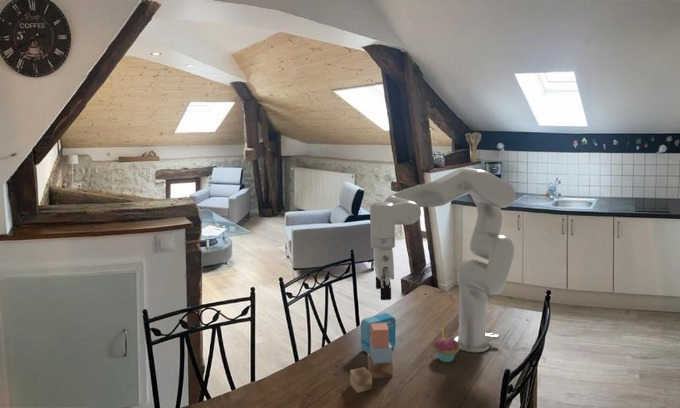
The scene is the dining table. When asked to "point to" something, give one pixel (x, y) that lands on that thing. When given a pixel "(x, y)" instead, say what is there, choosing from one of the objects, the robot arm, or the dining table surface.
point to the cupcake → (446, 348)
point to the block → (360, 379)
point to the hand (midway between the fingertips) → (383, 293)
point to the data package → (367, 329)
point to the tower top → (381, 354)
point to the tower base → (380, 369)
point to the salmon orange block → (379, 335)
